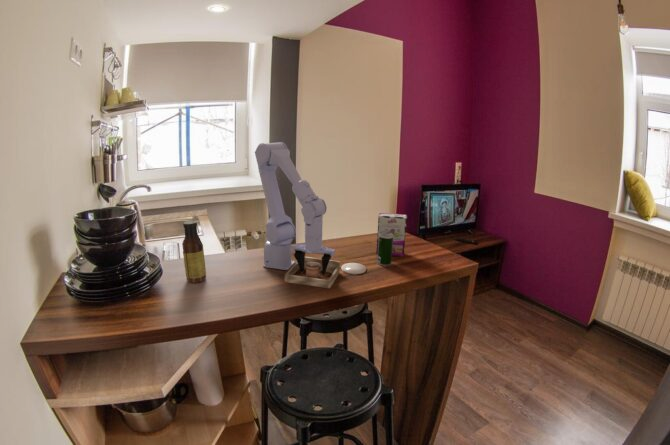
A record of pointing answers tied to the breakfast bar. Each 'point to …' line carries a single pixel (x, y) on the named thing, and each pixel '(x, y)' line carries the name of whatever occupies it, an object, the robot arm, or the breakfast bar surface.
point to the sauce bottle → (193, 254)
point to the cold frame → (331, 267)
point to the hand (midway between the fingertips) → (313, 272)
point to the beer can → (385, 248)
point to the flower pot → (313, 270)
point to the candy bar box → (393, 231)
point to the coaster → (353, 268)
